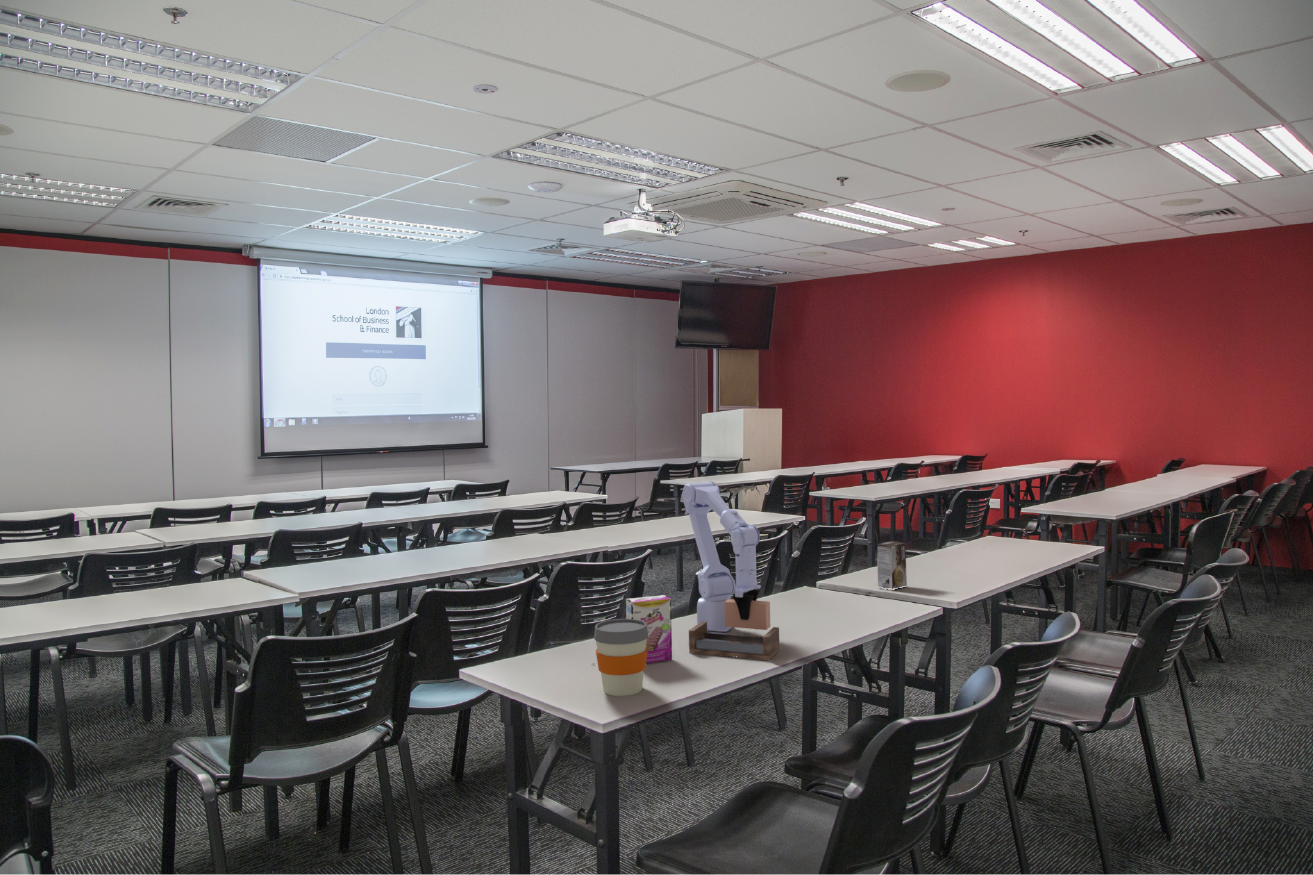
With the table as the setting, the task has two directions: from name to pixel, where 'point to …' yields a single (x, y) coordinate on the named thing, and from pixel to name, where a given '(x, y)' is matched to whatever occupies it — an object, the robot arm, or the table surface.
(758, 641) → the track base
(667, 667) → the table surface
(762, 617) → the salmon orange block
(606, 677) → the reusable coffee cup
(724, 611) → the robot arm
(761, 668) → the table surface
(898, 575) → the coffee box
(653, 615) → the candy bar box
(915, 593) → the table surface
